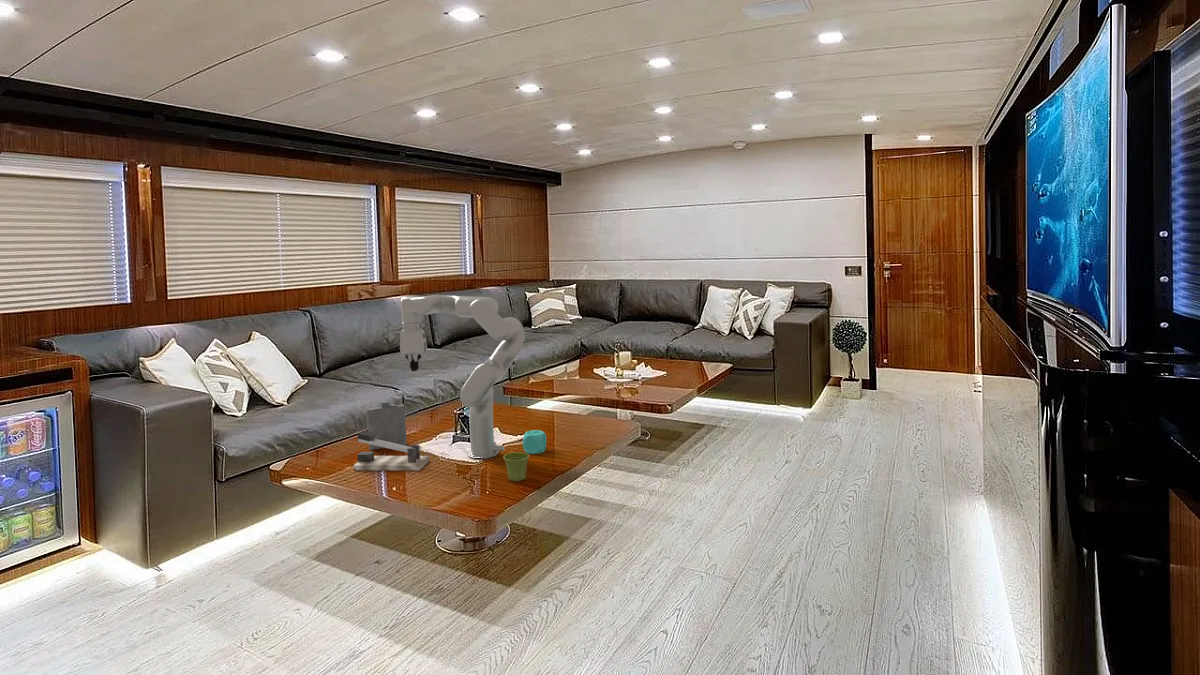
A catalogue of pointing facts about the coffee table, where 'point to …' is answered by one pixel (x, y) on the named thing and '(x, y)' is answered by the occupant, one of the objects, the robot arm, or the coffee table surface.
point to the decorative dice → (534, 442)
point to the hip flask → (387, 423)
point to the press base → (392, 461)
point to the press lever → (380, 441)
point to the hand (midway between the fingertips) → (414, 370)
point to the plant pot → (516, 465)
